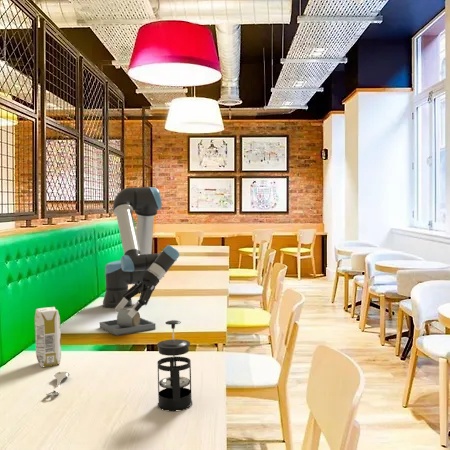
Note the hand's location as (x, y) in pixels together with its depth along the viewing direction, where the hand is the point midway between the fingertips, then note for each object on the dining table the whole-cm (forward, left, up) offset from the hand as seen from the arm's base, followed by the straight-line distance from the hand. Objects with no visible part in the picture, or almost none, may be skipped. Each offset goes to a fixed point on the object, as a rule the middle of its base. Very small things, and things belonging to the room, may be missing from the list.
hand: (123, 313), depth 236 cm
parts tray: (0, +2, -7) cm, 7 cm away
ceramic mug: (-1, +4, -6) cm, 7 cm away
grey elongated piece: (+56, -46, -7) cm, 73 cm away
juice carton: (+30, -41, -7) cm, 51 cm away
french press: (+90, -25, -7) cm, 94 cm away
